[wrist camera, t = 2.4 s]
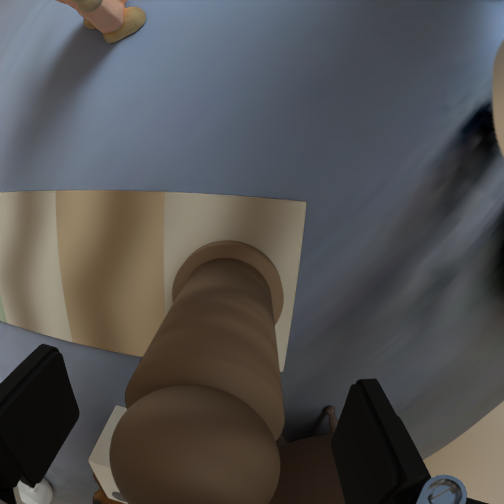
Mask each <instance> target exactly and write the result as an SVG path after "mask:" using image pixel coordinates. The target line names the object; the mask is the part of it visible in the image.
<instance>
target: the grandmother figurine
mask: <svg viewBox="0 0 504 504" xmlns="http://www.w3.org/2000/svg"><path fill="white" fill-rule="evenodd" d="M57 1H59V2H61V3H64V4H67V5H69V6H71V7H73V8H74V9H76V10H77V11H78V13H79V14H80V15H81V16H82V17H83V18H84V25H85V26H86V27H87V28H88V29H96V28H97V29H98V30H99V31H101V32H103V37H104V39H105V41H106V42H108V43H115V42H117V41H119V40H121V39H123V38H124V37H126V36H128V35H130V34H132V33H134V32H135V31H137V30H138V29H140V28H141V27H142V26H143V24H144V23H145V21H146V14H145V12H144V11H143V10H142V9H141V8H138V7H128V8H125V3H126V1H127V0H57Z"/></svg>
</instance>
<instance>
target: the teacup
mask: <svg viewBox="0 0 504 504" xmlns="http://www.w3.org/2000/svg"><path fill="white" fill-rule="evenodd" d="M17 485H18V489H19V493H20V497H21V501H23V502H24V503H26V504H51V501H52V497H53V492H52V488H51V486H50V484H49V482H48V481H47V480H46V479H45V478H43V480H42V481H41V482H40V483H38V484H36V486H35V487H34V489H33V488H31V487H29V486H27V485H26V484H24V483H22V482H21V481H19V482H18V484H17Z"/></svg>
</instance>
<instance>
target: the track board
mask: <svg viewBox="0 0 504 504" xmlns="http://www.w3.org/2000/svg"><path fill="white" fill-rule="evenodd" d="M306 204H307V202H304V201H294V200H284V199H272V198H261V197H248V196H235V195H220V194H203V193H184V192H161V191H126V190H49V191H17V192H0V321H3V322H5V323H8V324H11V325H14V326H17V327H21V328H24V329H27V330H30V331H33V332H37V333H40V334H44V335H47V336H51V337H54V338H58V339H62V340H66V341H70V342H74V343H78V344H82V345H86V346H90V347H95V348H99V349H104V350H108V351H113V352H118V353H123V354H129V355H134V356H140V357H143V356H144V354H145V352H146V350H147V349H148V347H149V345H150V343H151V341H152V340H153V338H154V336H155V334H156V332H157V331H158V329H159V327H160V325H161V324H162V322H163V320H164V318H165V317H166V315H167V313H168V312H169V310H170V308H171V306H172V305H173V301H172V287H173V282H174V279H175V276H176V274H177V272H178V270H179V269H180V267H181V266H182V265H183V263H184V262H185V261H186V259H187V258H188V257H189V256H190V255H191V254H192V253H193V252H194V251H196V250H197V249H198V248H200V247H202V246H204V245H206V244H209V243H212V242H216V241H223V240H232V241H239V242H243V243H246V244H249V245H251V246H253V247H255V248H257V249H258V250H260V251H261V252H263V253H264V254H265V255H266V256H267V257H268V258H269V259H270V260H271V261H272V263H273V264H274V265H275V267H276V269H277V271H278V273H279V276H280V279H281V283H282V288H283V294H284V303H283V309H282V313H281V315H280V318H279V320H278V322H277V323H276V325H275V332H276V341H277V350H278V359H279V368H280V372H283V370H284V364H285V358H286V352H287V346H288V340H289V333H290V327H291V321H292V314H293V307H294V300H295V293H296V286H297V279H298V271H299V264H300V256H301V248H302V239H303V231H304V222H305V213H306Z"/></svg>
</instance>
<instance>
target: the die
mask: <svg viewBox="0 0 504 504" xmlns="http://www.w3.org/2000/svg"><path fill="white" fill-rule="evenodd" d="M126 411H127V408H125V407H121V406H117V405H116V406H115V408H114V410H113V412H112V414H111V416H110V418H109V420H108V422H107V423H106V425H105V427H104V429H103V431H102V433H101V435H100V437H99V439H98V441H97V443H96V445H95V447H94V449H93V451H92V453H91V455H90V457H89V459H88V462H89V464H90V466H91V468H92V470H93V471H94V473H95V475H96V477H97V479H98V481H99V483H100V484H101V486H102V488H103V490H104V491H105V493H106V495H107V497H108V498H110V499H113V500H116V501H119V502H122V503H126V504H128V503H127V502H126V501H125V499H124V498H123V497H122V495H121V493H120V492H119V490H118V488H117V486H116V484H115V481H114V479H113V476H112V472H111V467H110V460H109V450H110V444H111V438H112V435H113V432H114V430H115V427H116V425H117V423H118V422H119V420H120V418H121V417H122V416H123V414H124V413H125V412H126Z"/></svg>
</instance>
